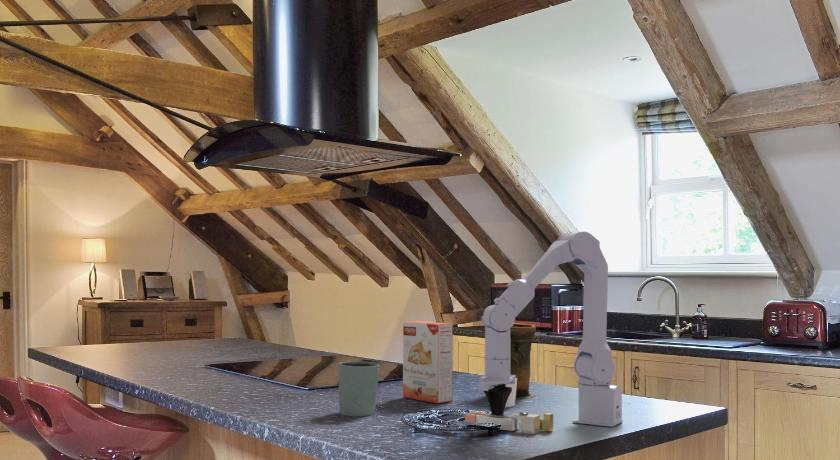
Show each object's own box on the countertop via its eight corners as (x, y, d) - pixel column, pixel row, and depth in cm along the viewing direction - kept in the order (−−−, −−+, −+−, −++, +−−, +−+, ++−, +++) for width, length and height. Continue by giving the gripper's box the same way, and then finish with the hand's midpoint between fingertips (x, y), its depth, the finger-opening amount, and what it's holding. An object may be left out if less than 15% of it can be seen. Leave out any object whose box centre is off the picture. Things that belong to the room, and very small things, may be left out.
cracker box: (401, 397, 219) (402, 320, 220) (417, 395, 223) (418, 320, 224) (437, 404, 209) (437, 323, 210) (453, 401, 213) (453, 322, 214)
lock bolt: (553, 430, 175) (553, 413, 175) (549, 431, 173) (549, 414, 173) (532, 427, 177) (532, 411, 177) (528, 428, 176) (528, 412, 176)
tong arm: (519, 428, 176) (519, 417, 177) (516, 429, 175) (516, 418, 175) (474, 422, 183) (474, 411, 183) (471, 423, 182) (471, 412, 182)
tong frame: (539, 431, 174) (539, 413, 174) (533, 434, 171) (533, 415, 171) (472, 423, 182) (472, 405, 182) (465, 426, 179) (465, 408, 180)
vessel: (517, 389, 235) (518, 321, 236) (545, 398, 222) (545, 325, 223) (474, 392, 229) (475, 322, 229) (500, 401, 216) (501, 327, 217)
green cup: (340, 409, 200) (340, 360, 201) (380, 409, 200) (381, 361, 200) (334, 416, 190) (335, 365, 191) (377, 417, 190) (377, 366, 190)
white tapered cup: (500, 402, 213) (500, 375, 214) (522, 405, 209) (522, 377, 209) (485, 405, 208) (485, 378, 208) (507, 408, 204) (507, 380, 204)
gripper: (496, 354, 189) (496, 412, 188) (466, 360, 177) (466, 422, 176) (523, 356, 185) (523, 416, 184) (495, 362, 173) (494, 426, 172)
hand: (497, 419), depth 180 cm, fingers closed
